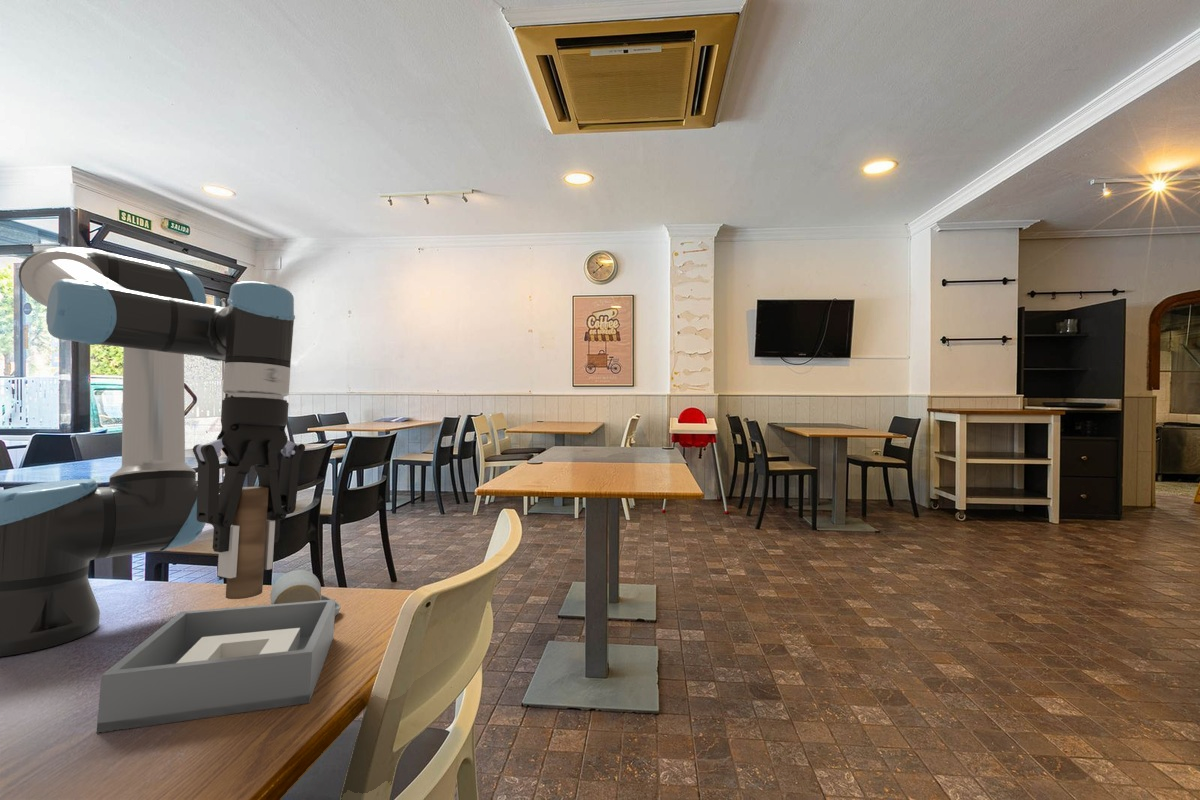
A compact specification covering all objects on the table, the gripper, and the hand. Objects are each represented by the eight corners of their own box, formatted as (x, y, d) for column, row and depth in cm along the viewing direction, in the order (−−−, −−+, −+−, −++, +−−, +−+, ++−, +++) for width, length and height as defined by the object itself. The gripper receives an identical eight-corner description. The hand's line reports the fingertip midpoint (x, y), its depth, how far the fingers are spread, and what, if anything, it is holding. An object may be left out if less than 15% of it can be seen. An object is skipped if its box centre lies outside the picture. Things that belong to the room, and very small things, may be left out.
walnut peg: (231, 591, 69) (238, 486, 70) (265, 588, 70) (272, 486, 71) (220, 600, 65) (228, 490, 66) (257, 597, 66) (264, 489, 67)
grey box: (177, 654, 73) (180, 611, 73) (333, 638, 80) (335, 599, 80) (96, 733, 54) (101, 675, 54) (309, 703, 61) (312, 651, 61)
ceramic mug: (269, 633, 81) (273, 584, 82) (268, 616, 88) (272, 571, 88) (342, 622, 87) (346, 576, 87) (337, 607, 94) (340, 565, 94)
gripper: (202, 391, 60) (188, 593, 58) (331, 401, 75) (322, 561, 74) (167, 392, 63) (152, 584, 61) (298, 401, 78) (289, 555, 77)
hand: (245, 571), depth 68 cm, fingers closed on walnut peg, 4 cm apart
